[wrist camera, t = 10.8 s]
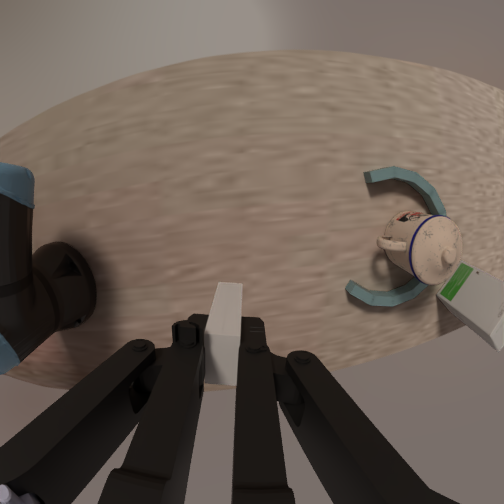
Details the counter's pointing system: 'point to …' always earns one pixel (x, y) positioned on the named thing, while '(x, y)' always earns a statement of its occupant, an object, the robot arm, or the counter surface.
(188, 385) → the robot arm
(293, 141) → the counter surface
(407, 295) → the open curved ring
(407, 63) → the counter surface
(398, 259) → the teacup with lid
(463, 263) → the skincare box
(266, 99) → the counter surface
